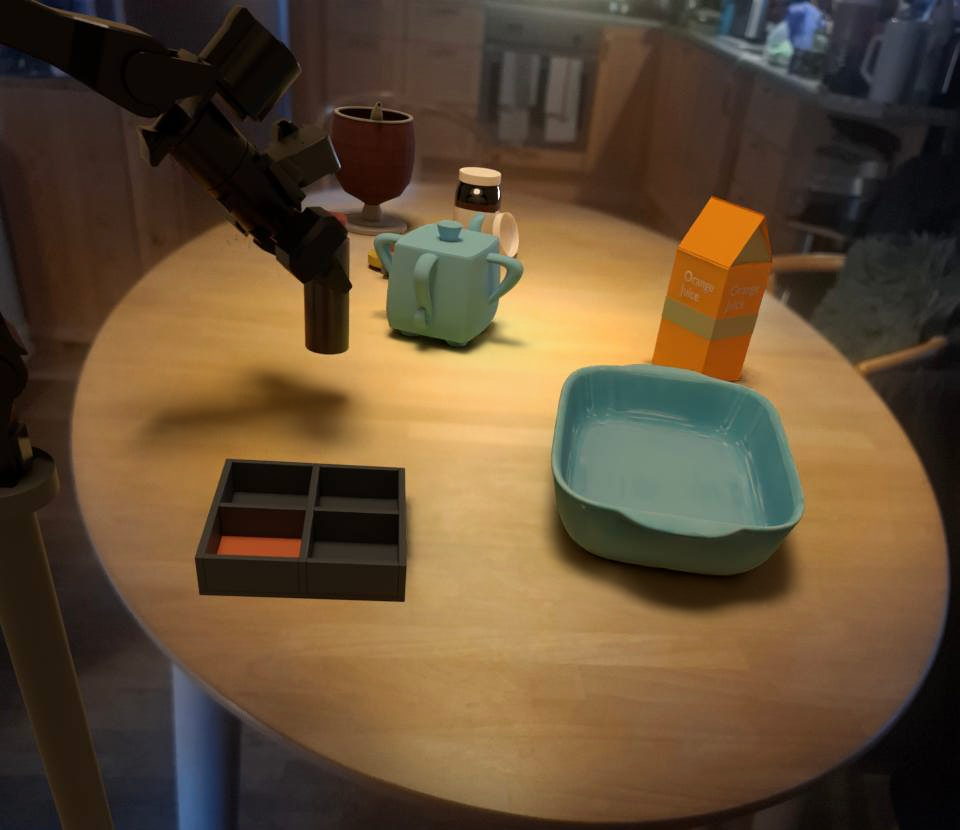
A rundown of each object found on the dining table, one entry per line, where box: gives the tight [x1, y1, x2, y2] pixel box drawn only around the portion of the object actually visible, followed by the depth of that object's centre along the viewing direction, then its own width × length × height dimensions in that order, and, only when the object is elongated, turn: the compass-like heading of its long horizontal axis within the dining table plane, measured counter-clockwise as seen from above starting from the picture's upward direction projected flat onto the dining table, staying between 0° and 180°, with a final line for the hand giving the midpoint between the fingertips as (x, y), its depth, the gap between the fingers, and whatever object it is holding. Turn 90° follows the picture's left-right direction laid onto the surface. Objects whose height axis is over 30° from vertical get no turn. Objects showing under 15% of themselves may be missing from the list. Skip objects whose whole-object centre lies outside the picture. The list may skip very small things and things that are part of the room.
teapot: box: [373, 213, 525, 347], centre depth 115 cm, size 18×16×14 cm
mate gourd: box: [330, 101, 416, 237], centre depth 149 cm, size 16×14×20 cm
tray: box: [194, 458, 408, 603], centre depth 74 cm, size 16×16×4 cm
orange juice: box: [651, 195, 774, 382], centre depth 109 cm, size 8×9×20 cm
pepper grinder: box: [303, 210, 351, 356], centre depth 91 cm, size 5×5×13 cm
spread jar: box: [452, 166, 520, 258], centre depth 146 cm, size 12×11×12 cm
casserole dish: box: [550, 363, 806, 576], centre depth 86 cm, size 37×22×7 cm, turn 172°
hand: (339, 282), depth 91 cm, fingers closed on pepper grinder, 4 cm apart
